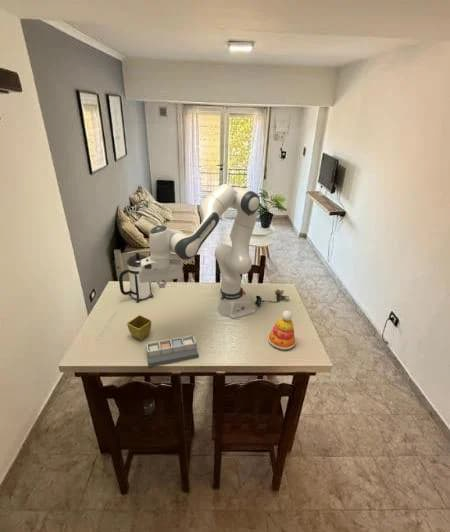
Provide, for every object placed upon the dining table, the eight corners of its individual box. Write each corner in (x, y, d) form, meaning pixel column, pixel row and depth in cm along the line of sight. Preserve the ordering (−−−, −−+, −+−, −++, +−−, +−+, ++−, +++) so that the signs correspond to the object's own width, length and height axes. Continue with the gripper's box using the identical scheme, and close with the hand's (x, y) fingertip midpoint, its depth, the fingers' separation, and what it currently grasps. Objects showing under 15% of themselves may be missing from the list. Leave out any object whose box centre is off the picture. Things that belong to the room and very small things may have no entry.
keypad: (192, 338, 157) (191, 330, 154) (198, 357, 145) (198, 348, 142) (146, 346, 150) (145, 337, 147) (148, 367, 138) (147, 358, 136)
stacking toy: (262, 342, 157) (265, 310, 148) (277, 329, 167) (281, 299, 158) (285, 355, 149) (291, 323, 140) (300, 341, 158) (306, 310, 150)
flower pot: (140, 344, 152) (138, 329, 148) (128, 337, 156) (126, 323, 152) (153, 334, 158) (151, 320, 154) (140, 328, 162) (139, 314, 158)
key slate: (180, 345, 150) (180, 339, 148) (182, 350, 146) (182, 345, 145) (172, 346, 149) (172, 341, 147) (173, 352, 145) (173, 346, 144)
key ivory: (191, 344, 152) (191, 339, 150) (193, 350, 148) (193, 344, 147) (183, 346, 151) (183, 340, 149) (185, 351, 147) (185, 345, 146)
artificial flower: (252, 303, 191) (253, 288, 189) (283, 301, 199) (284, 287, 197) (258, 307, 183) (260, 291, 181) (291, 306, 191) (292, 290, 189)
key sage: (158, 350, 147) (157, 345, 145) (159, 356, 144) (158, 350, 142) (149, 352, 146) (149, 346, 144) (150, 358, 142) (149, 352, 141)
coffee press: (133, 288, 197) (128, 246, 184) (157, 291, 196) (154, 248, 182) (121, 303, 182) (115, 258, 168) (147, 306, 180) (143, 261, 167)
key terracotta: (169, 348, 149) (169, 343, 147) (170, 354, 145) (170, 348, 144) (161, 350, 147) (160, 344, 146) (162, 355, 144) (161, 350, 142)
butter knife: (93, 339, 153) (99, 340, 153) (113, 312, 174) (118, 312, 174) (93, 340, 153) (99, 341, 153) (113, 312, 174) (118, 313, 174)
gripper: (181, 256, 144) (182, 281, 150) (137, 260, 138) (139, 286, 145) (184, 262, 139) (185, 288, 145) (138, 266, 133) (140, 293, 139)
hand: (162, 287), depth 145 cm, fingers closed
